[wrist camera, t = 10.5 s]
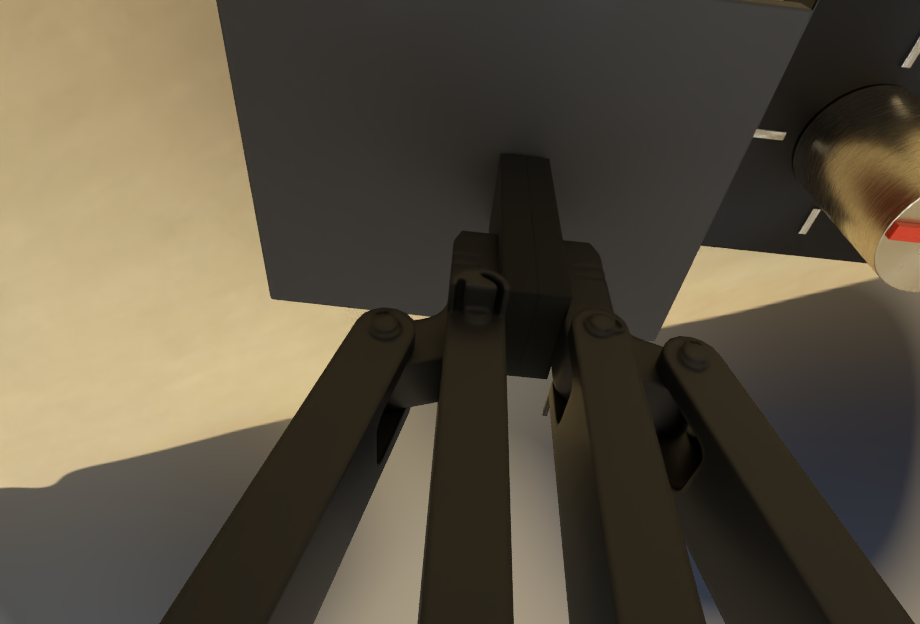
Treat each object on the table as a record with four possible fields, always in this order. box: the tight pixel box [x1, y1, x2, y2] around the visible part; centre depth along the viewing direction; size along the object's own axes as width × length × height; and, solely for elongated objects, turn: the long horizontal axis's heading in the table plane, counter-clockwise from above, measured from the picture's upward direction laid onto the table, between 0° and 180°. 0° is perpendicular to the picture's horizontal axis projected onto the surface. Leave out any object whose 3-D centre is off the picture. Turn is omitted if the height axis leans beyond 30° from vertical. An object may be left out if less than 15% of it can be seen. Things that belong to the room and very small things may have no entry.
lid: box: [216, 0, 812, 341], centre depth 18 cm, size 15×12×1 cm
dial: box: [793, 85, 920, 292], centre depth 21 cm, size 5×5×7 cm
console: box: [701, 0, 920, 263], centre depth 24 cm, size 12×9×3 cm
